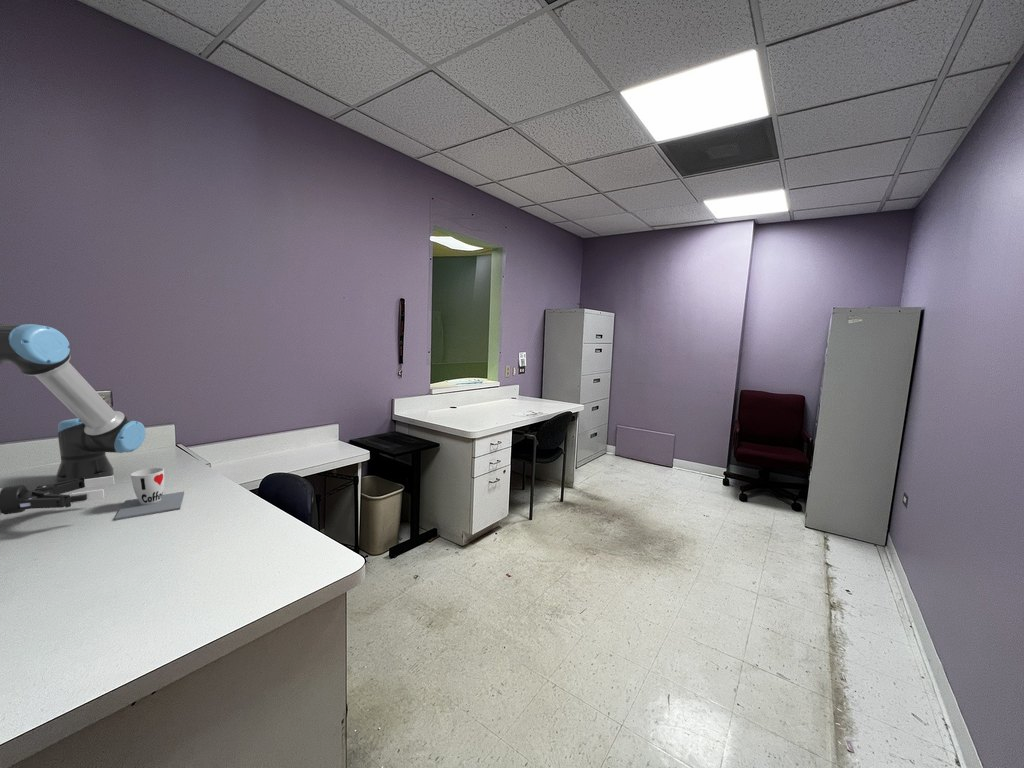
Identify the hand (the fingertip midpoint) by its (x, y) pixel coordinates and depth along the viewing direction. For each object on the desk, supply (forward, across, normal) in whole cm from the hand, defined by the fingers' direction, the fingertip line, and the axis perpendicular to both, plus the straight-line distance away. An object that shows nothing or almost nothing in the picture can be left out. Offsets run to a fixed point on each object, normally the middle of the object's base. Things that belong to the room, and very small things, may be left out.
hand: (109, 486), depth 126 cm
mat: (+10, 0, -8) cm, 13 cm away
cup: (+9, -2, -8) cm, 12 cm away
